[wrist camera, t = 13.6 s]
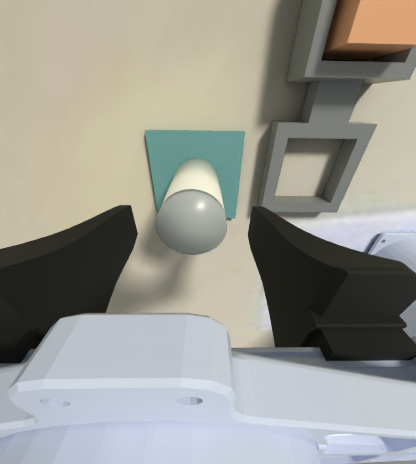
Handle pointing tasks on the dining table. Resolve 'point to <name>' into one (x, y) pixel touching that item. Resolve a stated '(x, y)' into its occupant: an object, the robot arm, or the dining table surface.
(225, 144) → the mat
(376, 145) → the dining table surface
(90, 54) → the dining table surface
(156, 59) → the dining table surface
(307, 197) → the housing
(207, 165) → the cylinder
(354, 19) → the orange cube
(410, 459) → the robot arm
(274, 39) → the dining table surface
